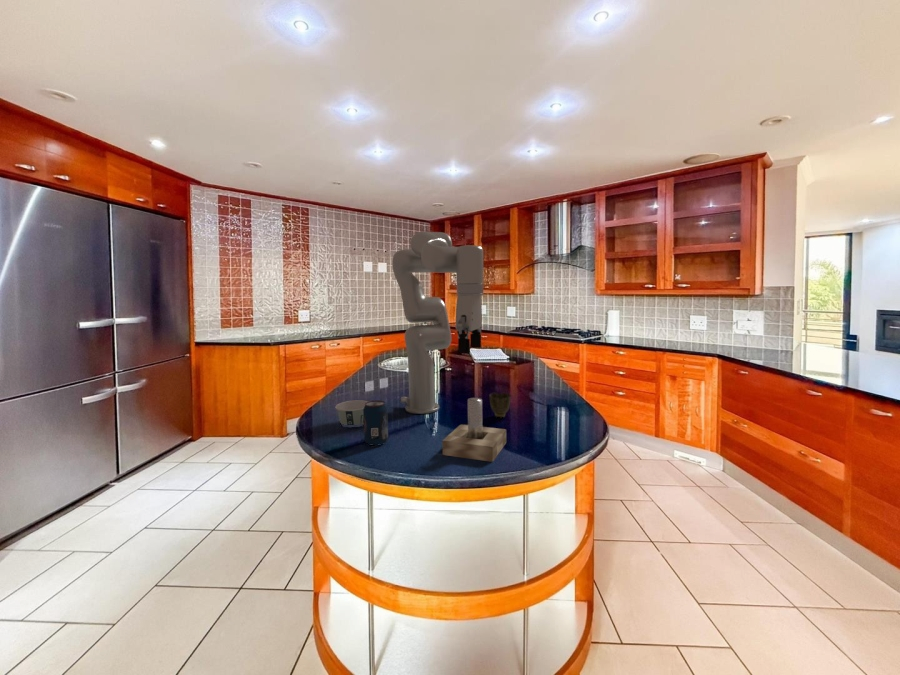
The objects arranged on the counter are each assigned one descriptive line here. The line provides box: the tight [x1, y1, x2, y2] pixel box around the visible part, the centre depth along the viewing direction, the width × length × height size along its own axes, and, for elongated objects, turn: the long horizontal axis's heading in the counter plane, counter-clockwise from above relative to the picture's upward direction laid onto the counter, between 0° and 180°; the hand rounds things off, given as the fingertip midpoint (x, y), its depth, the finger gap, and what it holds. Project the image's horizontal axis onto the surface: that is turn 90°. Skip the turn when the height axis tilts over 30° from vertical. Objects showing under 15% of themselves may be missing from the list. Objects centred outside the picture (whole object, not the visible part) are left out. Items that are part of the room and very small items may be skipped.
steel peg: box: [467, 397, 484, 440], centre depth 113 cm, size 4×4×14 cm
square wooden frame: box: [441, 424, 507, 463], centre depth 113 cm, size 14×14×4 cm
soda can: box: [363, 400, 389, 445], centre depth 119 cm, size 7×7×12 cm
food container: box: [334, 399, 369, 425], centre depth 138 cm, size 12×12×6 cm
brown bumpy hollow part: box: [488, 392, 511, 419], centre depth 141 cm, size 8×7×8 cm
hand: (470, 350), depth 117 cm, fingers open, 9 cm apart
